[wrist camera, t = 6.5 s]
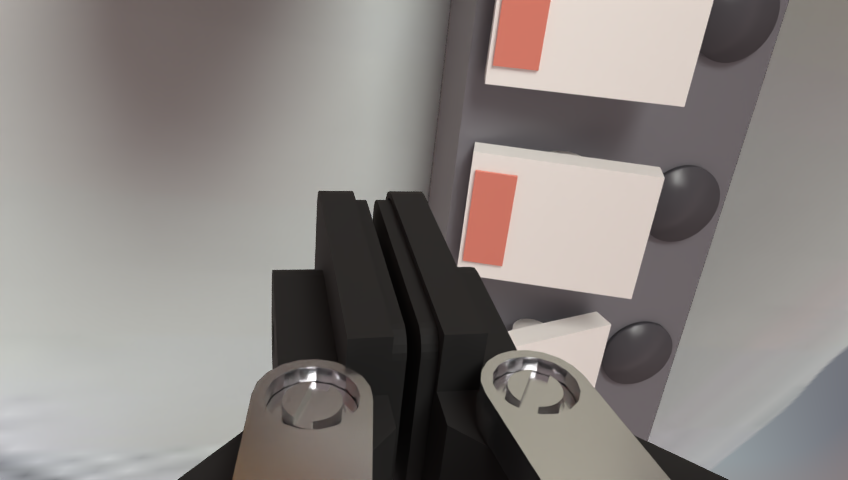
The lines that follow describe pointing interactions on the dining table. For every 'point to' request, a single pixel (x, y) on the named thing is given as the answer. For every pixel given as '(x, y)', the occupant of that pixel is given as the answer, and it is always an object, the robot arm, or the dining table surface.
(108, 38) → the dining table surface
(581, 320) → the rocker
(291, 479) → the robot arm
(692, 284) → the grey switch panel
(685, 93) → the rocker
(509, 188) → the rocker middle
